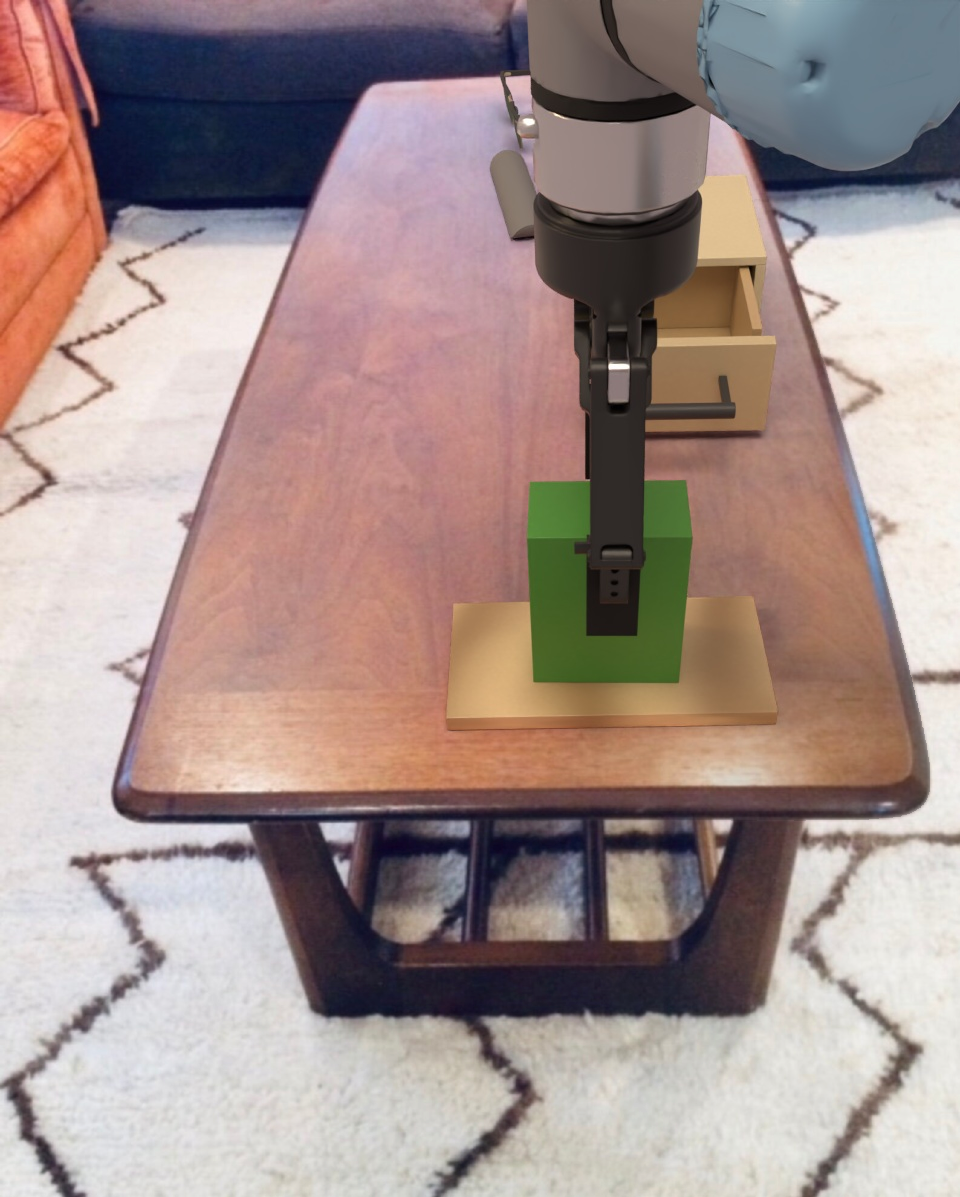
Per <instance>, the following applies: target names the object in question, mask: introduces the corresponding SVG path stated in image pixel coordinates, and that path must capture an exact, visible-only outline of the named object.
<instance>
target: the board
mask: <svg viewBox="0 0 960 1197" xmlns="http://www.w3.org/2000/svg"><path fill="white" fill-rule="evenodd" d="M756 606H757V605H756V601H755V597H754V595H737V596H736V595H735V596H734V595H732V596H697V597H695V596H693V597H687V603H686V613H685V624H684V634H683V645H682V655H681V666H680V676H679V683H577V682H533V665H532V643H531V621H530V601H500V602H499V601H496V602H495V601H494V602H493V601H492V602H460V603H459V602H455V603H453V607H452V621H451V623H452V624H451V637H450V651H449V652H450V653H449V667H448V681H447V682H448V683H447V697H446V714H445V719H446V720H445V721H446V728H447V731H468V730H471V731H472V730H476V731H477V730H522V729H524V730H527V729H528V730H529V729H575V728H576V729H579V728H583V729H584V728H586V729H587V728H634V727H635V728H637V727H638V728H639V727H640V728H641V727H642V728H645V727H646V728H647V727H689V726H690V727H692V726H695V727H697V726H699V727H700V726H748V725H749V726H751V725H757V726H759V725H776V724H777V721H778V713H779V709H778V704H777V700H776V695H775V690H774V686H773V681H772V677H771V672H770V667H769V663H768V658H767V653H766V649H765V644H764V639H763V634H762V630H761V626H760V621H759V620H760V619H759V616H758V615H759V614H758V611H757V607H756Z"/></svg>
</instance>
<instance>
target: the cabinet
mask: <svg viewBox="0 0 960 1197" xmlns="http://www.w3.org/2000/svg"><path fill="white" fill-rule="evenodd" d="M698 191H699V192H700V194H701V197H702V212H701V225H700V237H699V250H698V261H697V266H696V267H708V266H744V265H748V266H749V271H750V275H751V279H752V284H753V288H754V292H755V297H756V301H757V305H758V310H759V314H760V315H761V308H762V299H763V292H764V286H765V279H766V278H765V276H766V269H767V261H768V255H767V252H766V247H765V243H764V240H763V236H762V232H761V229H760V225H759V224H760V223H759V219H758V216H757V212H756V209H755V208H756V207H755V204H754V200H753V197H752V193H751V189H750V185H749V181H748V177H747V175H746V174H726V175H724V174H723V175H705V179H704V183H703V185H702V186H700V187H699V188H698Z"/></svg>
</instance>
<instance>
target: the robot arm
mask: <svg viewBox="0 0 960 1197" xmlns="http://www.w3.org/2000/svg"><path fill="white" fill-rule="evenodd" d="M526 18H527V41H528V42H527V43H528V58H529V59H528V62H529V70H530V71H531V74H530V75H529V78H530V95H531V111H532V113H527V114H522V115H521V114H520V117H519V119H518V122H517V133H518V134H519V135H520V136H521V137H522V139H527V140H534V141H533V145H532V169H533V173H532V174H533V184H534V187H535V189H537V191H538V192H537V195H536V197H535V199H534V203H533V211H534V236H533V238H534V241H533V242H534V263H535V270H536V272H537V275H538V276H539V279H540V280H541V281H542V282H543V283H544V284H545V285H546V286H547V287H548V288H549V289H550V290H552V291H553V292H555V293H556V294H559V295H560V296H562V297H565V298H566V299H567V298H568V299H570V300H573V351H574V355H575V356H576V358H577V359H578V362H579V364H578V365H579V368H578V369H579V370H578V371H579V372H578V375H579V376H578V377H579V378H578V379H579V382H578V383H579V385H578V391H579V392H578V394H579V395H578V396H579V397H578V398H579V399H578V400H579V401H578V402H579V407H580V409H581V410H582V411H583V412H584V479H585V480H589V481H590V535H587V542H574V554H586V636H637V632H638V612H639V593H640V573H641V569H643V567H644V562H646V551H644V549H643V534H644V480H645V473H646V472H645V471H646V470H645V468H646V432H645V418H646V409H647V408H648V407H649V405H650V404H651V400H652V355H653V354H654V352H655V350H656V348H657V318H653V317H654V300H655V299H657V298H659V297H662V296H666V295H668V294H670V293H672V292H674V291H676V290H677V289H679V288H680V287H681V286H683V285H684V284H685V283H686V282H687V281H688V280H689V279H690V277H691V276H692V275H693V273H694V271H695V269H696V266H697V261H698V250H699V237H700V225H701V212H702V197H701V194H700V192H699V191H698V188H699V187H700V186H702V185H703V183H704V179H705V176H707V175H706V174H707V163H708V152H709V139H710V129H711V128H710V127H711V117H712V116H714V117H716V118H717V119H719V120H721V121H723V123H725V124H727V125H728V127H729V128H731V129H732V130H735V131H736V133H739V134H740V135H741V137H743V138H744V139H746V140H747V141H753V142H755V143H756V144H757V145H759V146H761V147H762V148H764V149H769V148H775V149H776V150H778V151H780V152H781V153H782V154H784V155H792V156H794V157H796V158H799V159H802V160H805V161H807V162H809V163H811V164H813V165H815V166H817V167H821V168H823V169H828V170H833V171H839V172H857V171H864V170H869V169H874V168H877V167H880V166H883V165H885V164H888V163H891V162H893V161H895V160H896V159H898V158H900V157H901V156H903V155H905V154H907V153H908V152H909V151H910V150H911V148H912V146H913V144H914V142H915V141H916V140H917V139H918V138H919V137H920V136H922V135H923V134H924V133H925V132H928V131H929V130H932V129H937V128H938V127H939V126H941V124H942V123H944V122H945V120H947V119H948V117H949V116H950V115H951V114H952V112H954V110H955V109H956V107H957V106H958V105H959V104H960V0H526ZM711 115H712V116H711Z"/></svg>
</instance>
